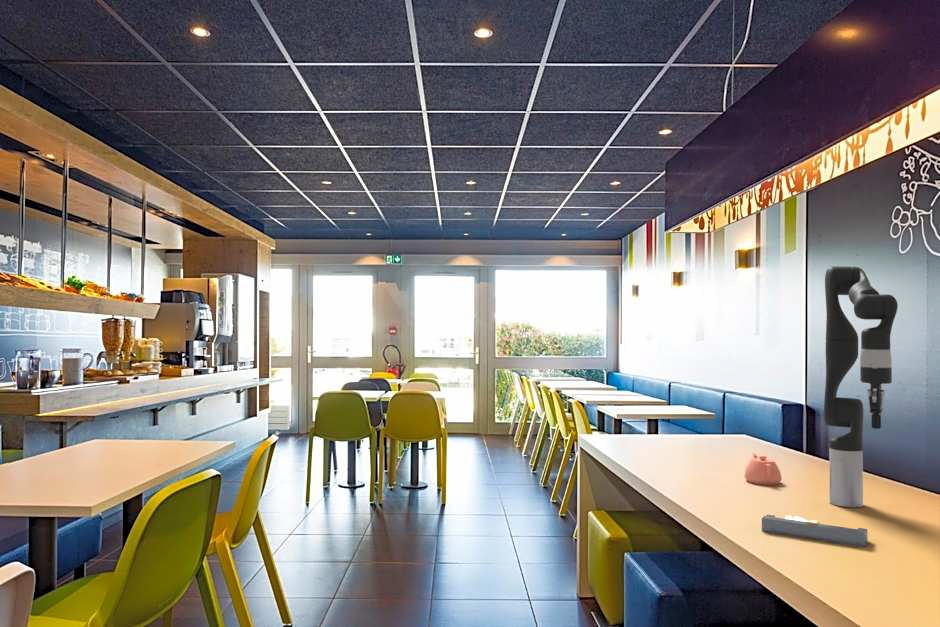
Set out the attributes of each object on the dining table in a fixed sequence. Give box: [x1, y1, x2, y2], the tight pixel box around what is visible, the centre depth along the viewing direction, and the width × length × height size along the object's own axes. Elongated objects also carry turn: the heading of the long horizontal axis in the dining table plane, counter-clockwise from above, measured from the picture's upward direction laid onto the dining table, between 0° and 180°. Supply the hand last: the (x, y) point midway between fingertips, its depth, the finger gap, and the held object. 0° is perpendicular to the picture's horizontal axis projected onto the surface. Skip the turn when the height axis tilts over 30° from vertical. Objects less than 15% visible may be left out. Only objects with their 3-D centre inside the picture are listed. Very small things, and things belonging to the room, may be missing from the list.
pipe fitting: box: [784, 515, 820, 524], centre depth 185 cm, size 8×4×7 cm
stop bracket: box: [761, 514, 868, 548], centre depth 180 cm, size 7×24×4 cm, turn 56°
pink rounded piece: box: [744, 452, 782, 486], centre depth 249 cm, size 12×18×10 cm
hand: (876, 428), depth 191 cm, fingers closed
